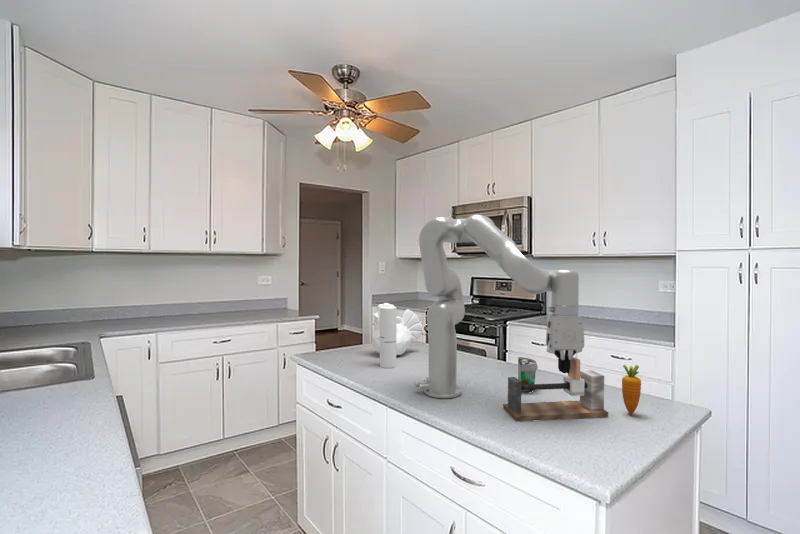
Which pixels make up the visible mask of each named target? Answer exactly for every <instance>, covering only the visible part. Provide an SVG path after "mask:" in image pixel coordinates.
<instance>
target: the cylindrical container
mask: <svg viewBox="0 0 800 534" xmlns="http://www.w3.org/2000/svg"><path fill="white" fill-rule="evenodd" d="M397 313H398V312H397V307H396V306H395V307H380V354H379V368H382V369H393V368H396V367H397V355H396V331H397V324H398V323H397V320H398V319H397V317H398V315H397Z"/></svg>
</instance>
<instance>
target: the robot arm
mask: <svg viewBox="0 0 800 534" xmlns="http://www.w3.org/2000/svg"><path fill="white" fill-rule="evenodd" d="M444 243H447V244H448V243H450V244H455V243H456V244H457V243H474V244H475V245H476V246H478V248H480V249H481V250H482V252H485V254H487V256H489V258H491V259H492V260H493V261H494V262H495V264H497V266H498V267H499V268H500V269H501V270H502V271H503V272H504V273H505V274H506V275H507V277H509V278H510V279H511V280H512V281H514V282H515V283H516V284H517V285H518V286H519V287H520V288H522V289H523V290H524V291H525V292H527V293H529V294H532V295H540V294H543V293H545V292H546V293H549V292H551V303H550V306H549V307H547V310H546V311H547V312H548V313H550V314H549V316H548V318H547V324H546V331H545V332H546V335H545V343H546V346H547V347H546V352H547V353H548V354H551V355H552V354H553V355H554V356H556V358H557V362H558V364H557V367H558V371H559V372H561V373H562V374H568V373H569V370H570V360H571V359H572V357H574V356H575V355H576V354H580V353H581V352H583V349H584V348H585V332H584V331H585V330H584V323H583V319H582V318H583V317H582V316H581V315H579V296H580V295H579V291H580V290H579V285H580V282H579V281H580V279H579V276H580V275H579V272H578V271H577V270H576V269H555V270H554V269H547V268H539V267H537V265H535V264H534V263H532V262H531V261H530V259H528V258H527V257H526V256H525V255H523V254H522V252H521V251H520V250H519V249H518V247H517V244H516V243H515V241H514V240H513V239H512V238H510V236H508V235H507V234H506V233H504V232H503V230H500V229H499V227H497V226H496V225H495V223H494V221H493V219H491V218H490V217H488V216H485V215H482V214H476V213H475V214H472V215H470V216H468V217H467V218H451V217H447V216H436V217H433V218H431V219H429V220H428V221H427V222H426V223H425V224H424V225H423V227H422V228H421V230H420V233H419V237H418V244H419V245H418V246H419V253H420V257H421V265H422V270H423V271H422V272H423V277H424V279H423V280H424V285H425V286H424V287H425V288H426V289H425V290H426V292H427V293H428V294H429V295H430V296H433V297H434V298H435V297H436V298H437V300H438V301H435V302H434V303H432V304H431V305H430V306H429V308H428V309H427V313H426V324H427V330H428V331H427V332H428V377H426V379H424V380H422V381H420V380H415V381H414V387H415V388H419V389H423V392H424V394H425V395H427V396H429V397H432V398H435V399H436V398H437V399H453V398H457V397H459V396H461V394H462V389H461V388H460V387H459V386H457V368H458V367H457V361H458V360H457V359H458V357H457V356H458V355H457V352H458V351H457V350H458V349H457V347H458V346H457V344H458V343H457V332H456V326H455V325H458V324H459V323H460V322H462V321H463V319H464V317H465V315H466V314H465V313H466V311H465V302H464V301H465V300H464V296H463V288H462V283H461V279H460V277H459V276H458V274H457V273H456V272H455V271H454V270H452V269H450V268H449V264H448V259H447V255H446V251H445V249H444Z"/></svg>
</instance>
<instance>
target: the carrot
mask: <svg viewBox="0 0 800 534" xmlns="http://www.w3.org/2000/svg"><path fill="white" fill-rule="evenodd" d="M622 366H623V368H624V370H625V372H626V374H627V375H625V376H623V377H622V379H621V391H622V393H621V394H622V399H623V403H624V405H625V408H626V410H627V412H628V414H629V415H631V416H632V415H633V414H634V413H635V412H636V410H637V408H638V406H639V402H640V398H641V390H642V380H641V379H640V378H639V377H637V376H636V375H638V374H639V371H638V369H639V368H640V366H639V365H638V364H635V366H634V367H633V366H632V365H630V366H629V368H628V367H627V365H626V364H623V365H622Z"/></svg>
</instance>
